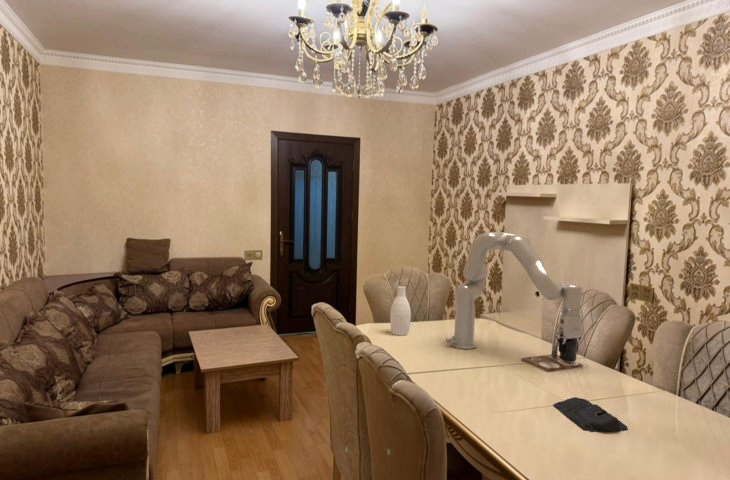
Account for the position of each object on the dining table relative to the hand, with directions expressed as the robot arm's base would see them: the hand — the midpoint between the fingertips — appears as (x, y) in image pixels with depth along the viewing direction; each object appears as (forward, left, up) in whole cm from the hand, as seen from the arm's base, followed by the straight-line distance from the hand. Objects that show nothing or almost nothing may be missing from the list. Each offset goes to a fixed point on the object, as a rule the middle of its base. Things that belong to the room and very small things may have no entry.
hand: (568, 351), depth 214 cm
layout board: (-5, +4, -6) cm, 9 cm away
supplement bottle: (0, 0, -4) cm, 4 cm away
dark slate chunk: (-37, -44, -7) cm, 58 cm away
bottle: (-47, +70, -7) cm, 85 cm away
